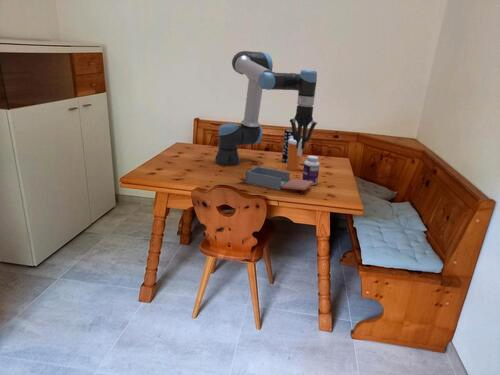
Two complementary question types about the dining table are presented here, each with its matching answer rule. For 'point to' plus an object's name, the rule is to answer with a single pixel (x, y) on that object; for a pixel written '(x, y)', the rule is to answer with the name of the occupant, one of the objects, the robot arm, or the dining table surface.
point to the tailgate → (297, 184)
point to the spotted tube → (286, 145)
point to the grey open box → (267, 177)
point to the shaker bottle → (293, 154)
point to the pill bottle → (311, 169)
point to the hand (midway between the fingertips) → (299, 155)
